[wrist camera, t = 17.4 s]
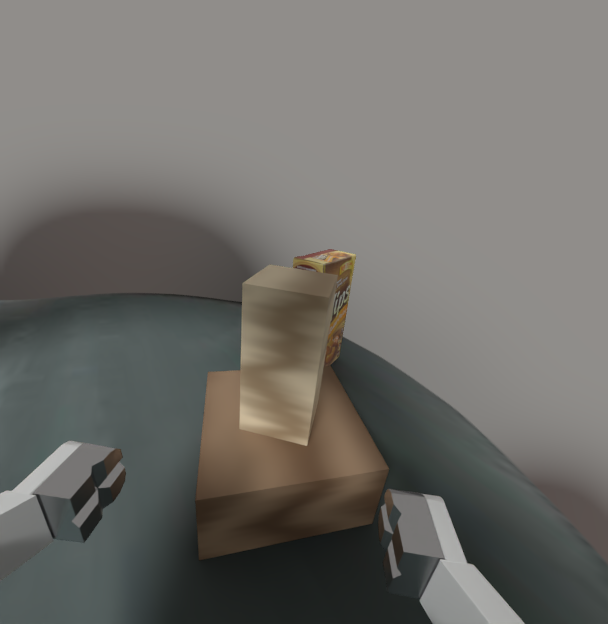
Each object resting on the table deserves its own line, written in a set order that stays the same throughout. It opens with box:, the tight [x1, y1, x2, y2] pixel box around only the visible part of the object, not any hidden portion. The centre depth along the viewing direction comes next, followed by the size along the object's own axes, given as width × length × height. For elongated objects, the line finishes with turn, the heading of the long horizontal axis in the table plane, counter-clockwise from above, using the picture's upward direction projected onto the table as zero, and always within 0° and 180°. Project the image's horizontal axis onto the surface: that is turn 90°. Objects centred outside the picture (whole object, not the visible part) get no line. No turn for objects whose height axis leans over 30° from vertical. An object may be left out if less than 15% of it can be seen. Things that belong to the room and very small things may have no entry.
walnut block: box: [195, 366, 389, 560], centre depth 24 cm, size 12×12×6 cm
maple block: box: [239, 265, 338, 446], centre depth 20 cm, size 5×5×11 cm
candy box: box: [293, 249, 356, 366], centre depth 36 cm, size 9×4×15 cm, turn 148°
